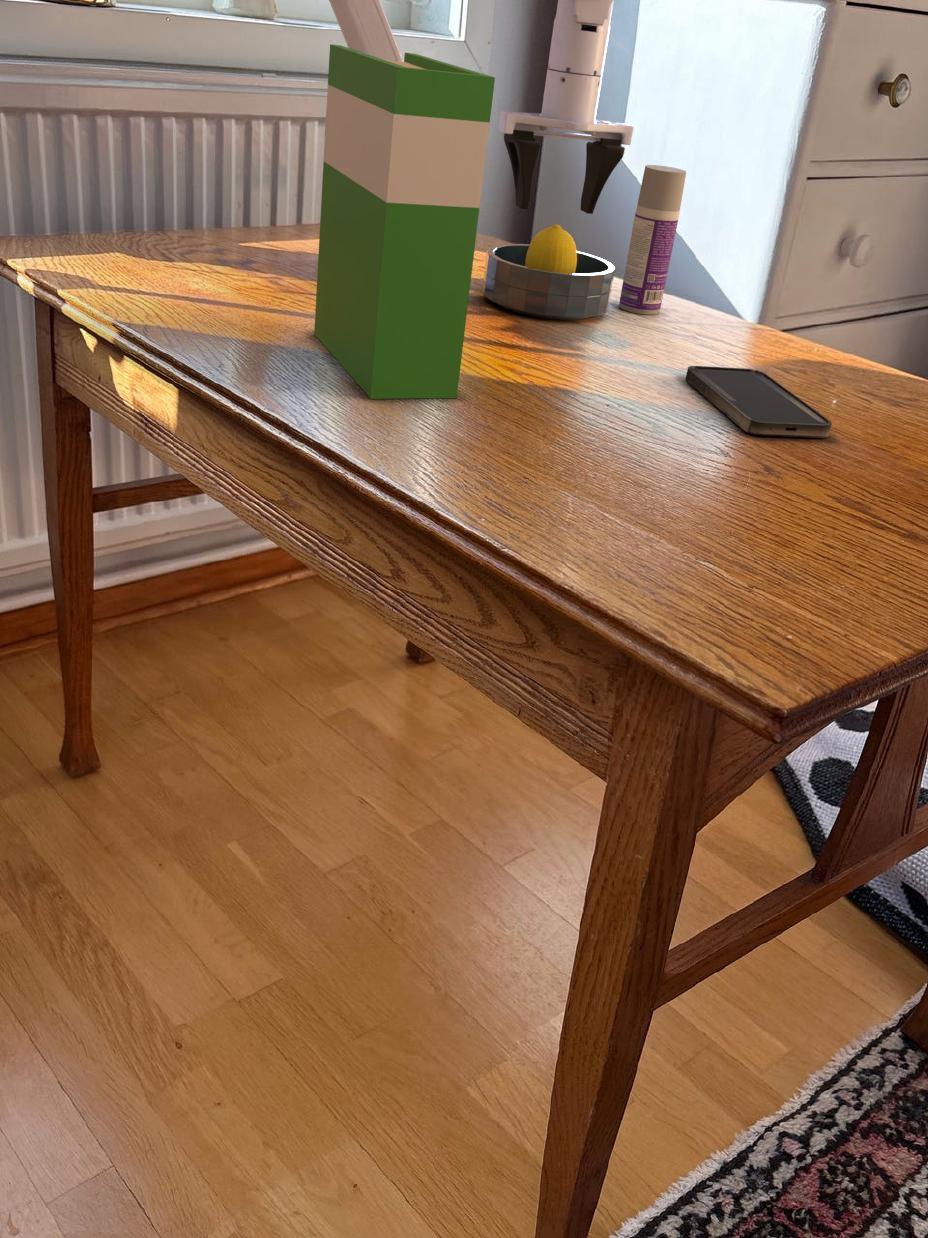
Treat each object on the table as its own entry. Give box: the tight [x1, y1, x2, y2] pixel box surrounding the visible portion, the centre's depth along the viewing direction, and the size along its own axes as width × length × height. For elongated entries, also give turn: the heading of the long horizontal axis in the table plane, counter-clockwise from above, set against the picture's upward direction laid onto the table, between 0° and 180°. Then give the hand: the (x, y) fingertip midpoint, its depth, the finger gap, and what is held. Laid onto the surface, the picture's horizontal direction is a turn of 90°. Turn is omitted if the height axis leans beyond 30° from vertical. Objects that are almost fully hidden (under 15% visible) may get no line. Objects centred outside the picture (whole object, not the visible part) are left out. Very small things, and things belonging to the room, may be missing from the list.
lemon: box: [525, 223, 578, 273], centre depth 122 cm, size 6×6×8 cm
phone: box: [684, 365, 833, 439], centre depth 100 cm, size 8×1×15 cm
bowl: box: [481, 243, 616, 321], centre depth 123 cm, size 14×14×5 cm
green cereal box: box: [313, 43, 496, 400], centre depth 93 cm, size 18×7×24 cm, turn 21°
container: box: [618, 164, 687, 316], centre depth 124 cm, size 5×5×15 cm
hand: (554, 209), depth 123 cm, fingers open, 7 cm apart
